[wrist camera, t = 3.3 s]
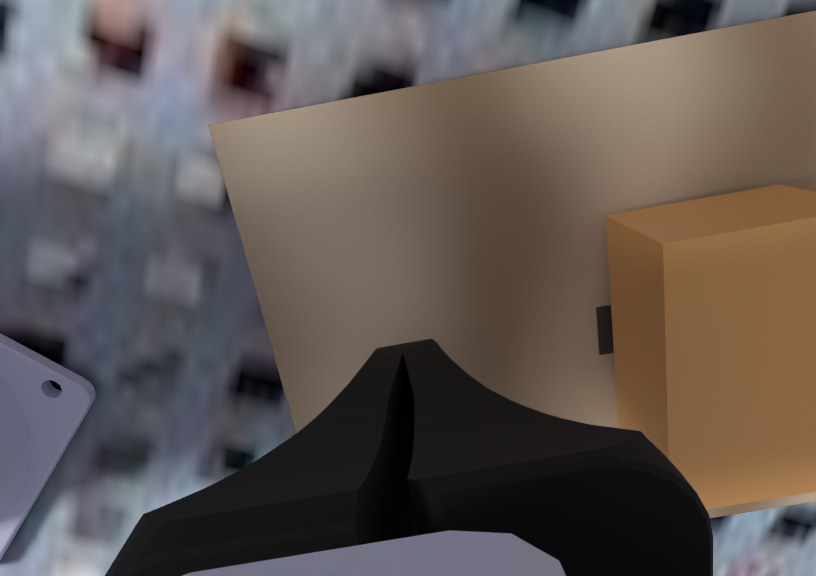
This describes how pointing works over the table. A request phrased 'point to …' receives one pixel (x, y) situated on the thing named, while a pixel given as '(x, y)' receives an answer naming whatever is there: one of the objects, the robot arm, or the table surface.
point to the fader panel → (504, 207)
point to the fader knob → (720, 338)
